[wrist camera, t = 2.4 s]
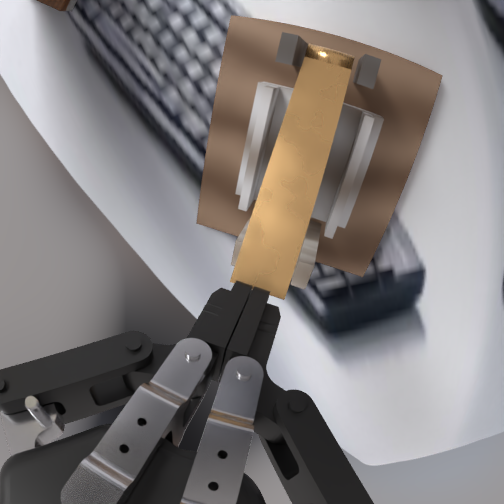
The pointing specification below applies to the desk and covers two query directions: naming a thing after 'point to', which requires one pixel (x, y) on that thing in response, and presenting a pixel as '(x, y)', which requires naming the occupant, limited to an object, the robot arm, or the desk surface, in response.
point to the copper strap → (294, 172)
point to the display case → (60, 4)
